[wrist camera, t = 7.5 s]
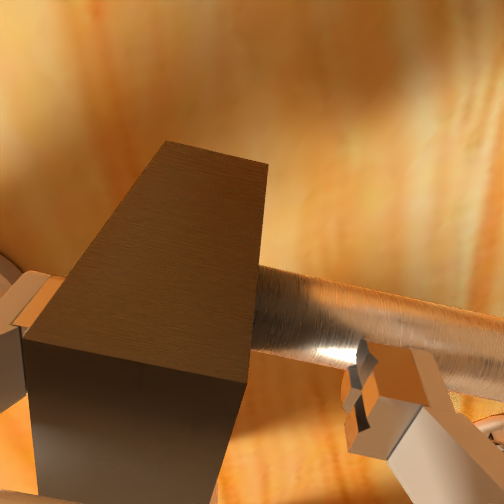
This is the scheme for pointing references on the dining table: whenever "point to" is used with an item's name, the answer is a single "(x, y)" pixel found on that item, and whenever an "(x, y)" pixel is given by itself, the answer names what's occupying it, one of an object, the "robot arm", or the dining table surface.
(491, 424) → the decorative candle
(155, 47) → the dining table surface
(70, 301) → the shaft
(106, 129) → the dining table surface
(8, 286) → the travel mug
